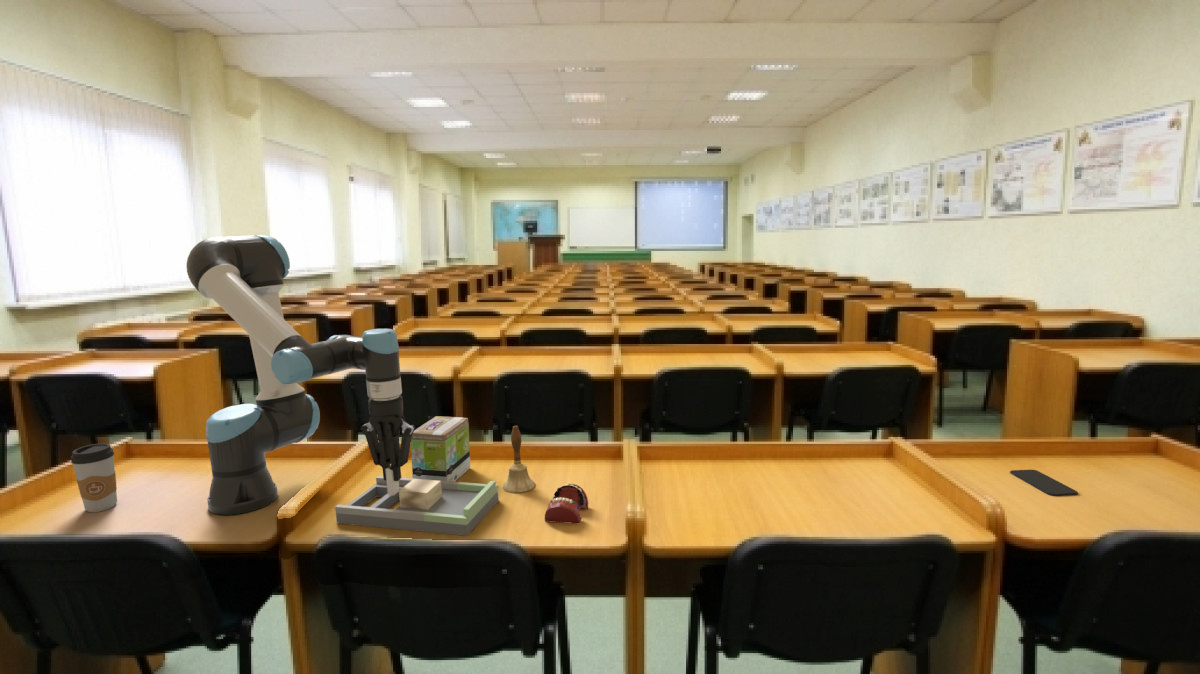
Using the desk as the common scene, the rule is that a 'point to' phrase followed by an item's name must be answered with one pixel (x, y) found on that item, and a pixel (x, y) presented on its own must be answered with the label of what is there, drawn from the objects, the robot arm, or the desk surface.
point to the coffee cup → (95, 476)
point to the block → (420, 494)
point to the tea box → (441, 449)
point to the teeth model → (567, 504)
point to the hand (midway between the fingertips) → (393, 493)
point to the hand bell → (517, 468)
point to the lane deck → (447, 515)
